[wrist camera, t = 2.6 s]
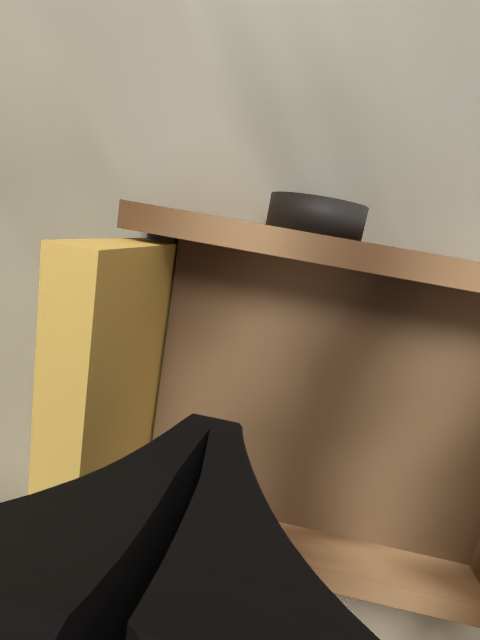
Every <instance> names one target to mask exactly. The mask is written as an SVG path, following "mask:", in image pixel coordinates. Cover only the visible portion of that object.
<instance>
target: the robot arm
mask: <svg viewBox="0 0 480 640" xmlns="http://www.w3.org/2000/svg"><path fill="white" fill-rule="evenodd" d="M0 640H380V639H379V638H378V637H377V636H376V635H375V634H374V633H373V632H371V631H370V630H369V629H368V628H367V627H366V626H365V625H364V624H363V623H362V622H361V621H360V620H359V619H358V618H357V617H356V616H355V615H354V614H353V613H352V612H351V611H349V610H348V609H347V608H346V606H345V605H344V604H343V603H342V602H341V601H340V600H339V599H338V598H337V597H336V596H335V595H334V593H333V592H332V591H331V590H330V589H329V588H328V587H327V586H326V585H325V583H324V582H323V581H322V580H321V579H320V578H319V577H318V576H317V574H316V573H315V572H314V571H313V570H312V568H311V567H310V566H309V564H308V563H307V562H306V561H305V559H304V558H303V557H302V555H301V554H300V553H299V551H298V550H297V549H296V547H295V546H294V545H293V543H292V542H291V541H290V539H289V538H288V536H287V535H286V533H285V532H284V530H283V528H282V527H281V525H280V524H279V522H278V520H277V518H276V517H275V515H274V513H273V512H272V510H271V508H270V506H269V504H268V502H267V500H266V498H265V496H264V494H263V492H262V490H261V488H260V486H259V483H258V481H257V479H256V476H255V474H254V471H253V468H252V466H251V463H250V460H249V457H248V454H247V451H246V447H245V443H244V438H243V428H242V426H241V425H240V423H237V422H232V421H228V420H223V419H218V418H213V417H209V416H204V415H199V414H194V413H192V414H191V415H189V416H188V417H186V418H185V419H183V420H182V421H180V422H179V423H178V424H176V425H175V426H173V427H172V428H170V429H169V430H167V431H166V432H165V433H163V434H162V435H160V436H158V437H157V438H155V439H154V440H152V441H151V442H149V443H148V444H146V445H144V446H143V447H141V448H139V449H137V450H135V451H134V452H132V453H130V454H128V455H127V456H125V457H123V458H121V459H119V460H117V461H115V462H113V463H111V464H109V465H107V466H105V467H103V468H100V469H98V470H96V471H93V472H91V473H89V474H86V475H84V476H82V477H79V478H77V479H74V480H71V481H68V482H65V483H62V484H60V485H57V486H54V487H51V488H48V489H45V490H42V491H39V492H36V493H33V494H30V495H27V496H23V497H20V498H16V499H13V500H9V501H5V502H2V503H0Z"/></svg>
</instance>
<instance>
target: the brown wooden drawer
mask: <svg viewBox="0 0 480 640" xmlns="http://www.w3.org/2000/svg"><path fill="white" fill-rule="evenodd" d="M368 210H369V208H368V207H366V206H363V205H360V204H357V203H353V202H349V201H345V200H340V199H335V198H329V197H324V196H317V195H311V194H303V193H294V192H272V193H271V199H270V204H269V210H268V215H267V221H266V225H264V224H258V223H252V222H247V221H241V220H235V219H230V218H224V217H218V216H212V215H207V214H201V213H195V212H189V211H184V210H178V209H172V208H166V207H161V206H155V205H149V204H144V203H138V202H132V201H126V200H121V199H120V203H119V214H118V224H117V228H123V229H128V230H134V231H140V232H145V233H151V234H156V235H162V236H167V237H173V238H178V239H179V243H178V251H177V258H176V266H175V273H174V281H173V289H172V296H171V304H170V311H169V319H168V326H167V334H166V342H165V349H164V357H163V364H162V372H161V379H160V387H159V395H158V402H157V410H156V417H155V425H154V432H153V440H154V439H155V438H157V437H158V436H160V435H162V434H163V433H165V432H166V431H167V430H169V429H170V428H172V427H173V426H175V425H176V424H178V423H179V422H180V421H182V420H183V419H185V418H186V417H188V416H189V415H191V414H192V413H194V414H199V415H204V416H209V417H213V418H218V419H223V420H228V421H232V422H237V423H240V425H241V426H242V428H243V438H244V443H245V447H246V451H247V454H248V457H249V460H250V463H251V466H252V468H253V471H254V474H255V476H256V479H257V481H258V483H259V486H260V488H261V490H262V492H263V494H264V496H265V498H266V500H267V502H268V504H269V506H270V508H271V510H272V512H273V513H274V515H275V517H276V518H277V520H278V522H279V524H280V525H281V527H282V528H283V530H284V532H285V533H286V535H287V536H288V538H289V539H290V541H291V542H292V543H293V545H294V546H295V547H296V549H297V550H298V551H299V553H300V554H301V555H302V557H303V558H304V559H305V561H306V562H307V563H308V564H309V566H310V567H311V568H312V570H313V571H314V572H315V573H316V574H317V576H318V577H319V578H320V579H321V580H322V581H323V582H324V583H325V585H326V586H327V587H328V588H329V589H330V590H331V591H332V592H333V593H335V594H339V595H344V596H348V597H352V598H356V599H360V600H365V601H369V602H373V603H377V604H381V605H386V606H390V607H394V608H398V609H402V610H407V611H411V612H415V613H419V614H423V615H428V616H432V617H436V618H440V619H445V620H449V621H453V622H457V623H461V624H466V625H470V626H474V627H478V628H480V262H476V261H470V260H464V259H459V258H453V257H447V256H442V255H436V254H430V253H424V252H419V251H413V250H407V249H401V248H396V247H390V246H384V245H379V244H373V243H367V242H361V239H362V235H363V231H364V226H365V222H366V218H367V214H368Z"/></svg>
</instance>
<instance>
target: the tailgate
mask: <svg viewBox="0 0 480 640" xmlns="http://www.w3.org/2000/svg"><path fill="white" fill-rule="evenodd" d="M176 241H177V238H173V237H167V236H162V235H156V234H151V233H148V236H147V238H114V239H58V240H41V256H40V275H39V294H38V314H37V333H36V352H35V371H34V391H33V410H32V429H31V448H30V468H29V487H28V495H30V494H33V493H36V492H39V491H42V490H45V489H48V488H51V487H54V486H57V485H60V484H62V483H65V482H68V481H71V480H74V479H77V478H79V477H82V476H84V475H86V474H89V473H91V472H93V471H96V470H98V469H100V468H103V467H105V466H107V465H109V464H111V463H113V462H115V461H117V460H119V459H121V458H123V457H125V456H127V455H128V454H130V453H132V452H134V451H135V450H137V449H139V448H141V447H143V446H144V445H146V444H148V443H149V442H151V441H152V440H153V432H154V425H155V417H156V410H157V402H158V395H159V387H160V379H161V372H162V364H163V357H164V349H165V342H166V334H167V326H168V319H169V311H170V304H171V296H172V289H173V281H174V273H175V266H176V258H177V251H178V244H176Z"/></svg>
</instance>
